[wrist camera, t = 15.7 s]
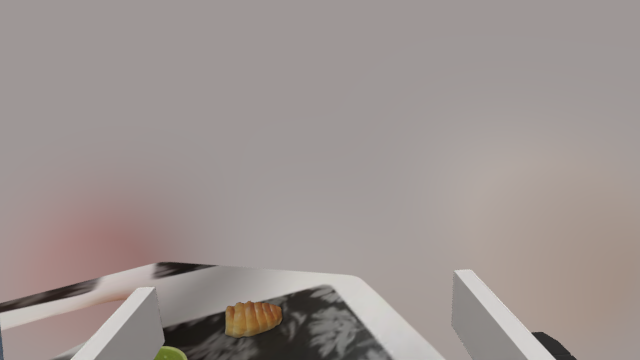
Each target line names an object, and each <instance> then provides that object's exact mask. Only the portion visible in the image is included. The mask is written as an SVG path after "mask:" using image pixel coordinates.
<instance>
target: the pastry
mask: <svg viewBox="0 0 640 360" xmlns="http://www.w3.org/2000/svg"><path fill="white" fill-rule="evenodd" d="M281 321H282V312H281V308H280V307H278V306H276V305H273V304H269V303H261V302H256V303H253V302H251V301H248V302H247V303H245V304H244V303H240V302H239V303H237V304H236V305H235V306H228V307H227V309H226V330H225V334H226V335H228V336H231V337H233V338H240V337H242V336H247V337H249V336H253V335H255V334H259V333H262V332H264V331H267V330H270V329H272V328H274V327H275V326H276V325H278V324H280V323H281Z"/></svg>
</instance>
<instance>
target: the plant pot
mask: <svg viewBox="0 0 640 360" xmlns="http://www.w3.org/2000/svg"><path fill="white" fill-rule="evenodd" d="M154 360H187V357H186V355H185V354H184V353H183V352H182V351H180V350H179V349H177V348H174V347H169V346H162V347H161V348H160V350H159V352H158V353H157V355H156V357H155V358H154Z"/></svg>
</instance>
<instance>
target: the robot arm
mask: <svg viewBox="0 0 640 360" xmlns="http://www.w3.org/2000/svg"><path fill="white" fill-rule="evenodd" d="M452 302H453V303H452V327H453V329H454V330H455V332H456V333H457V335H458V337H459V338H460V340H461V341H462V343H463V345H464V346H465V348H466V349H467V351H468V353H469V354H470V356H471V358H472V359H473V360H576V358H575V357H574V356H571V354H570V352H568V351H567V350H566V349H565V348H564V347H563V346H562V345H561V344H560V343H559V342H558V341H557V340H555V339H553V338H552V337H550V336H548V335H547V334H545V333H543V332H535V333H530V332H529V331H528V330H527V328H526V327H525V326H524V325H523V324H522V323H521V322H520V321H519V320H518V319H517V318H516V317H515V316H514V315H513V313H512V312H511V311H510V310H509V309H508V308H507V307H506V306H505V305H504V304H503V303H502V302H501V301H500V300H499V299H498V298H497V296H496V295H495V294H494V293H493V292H492V291H491V290H490V289H489V288H488V287H487V286H486V285H485V284H484V283H483V282H482V281H481V279H480V278H479V277H478V276H477V275H476V274H475V273H474V272H473V271H472V270H471V269H470V270H454V277H453V301H452ZM164 342H165V340H164V334H163V329H162V323H161V317H160V311H159V305H158V300H157V294H156V288H155V287H143V288H137V289H136V290H135V291H134V292H133V293H132V294H131V295H130V297H129V298H128V299H127V300H126V301H125V302H124V303H123V304H122V305H121V306H120V307H119V308H118V310H116V312H115V313H114V314H113V315H112V316H111V317H110V318H109V319H108V320H107V321H106V322H105V323H104V324H103V325H102V326H101V328H100V329H99V330H98V331H97V332H96V333H95V334H94V335H93V336H92V337H91V338H90V339H89V340H88V341H87V343H86V344H85V345H84V346H83V347H82V348H81V349H80V350H79V351H78V352H77V353H76V354H75V355H74V356H73V357H72V359H71V360H154V358H155V357H156V355H157V353H158V352H159V350H160V348H161V347H162V345H163V344H164ZM0 360H4V359H3V347H2V337H1V327H0Z"/></svg>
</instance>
